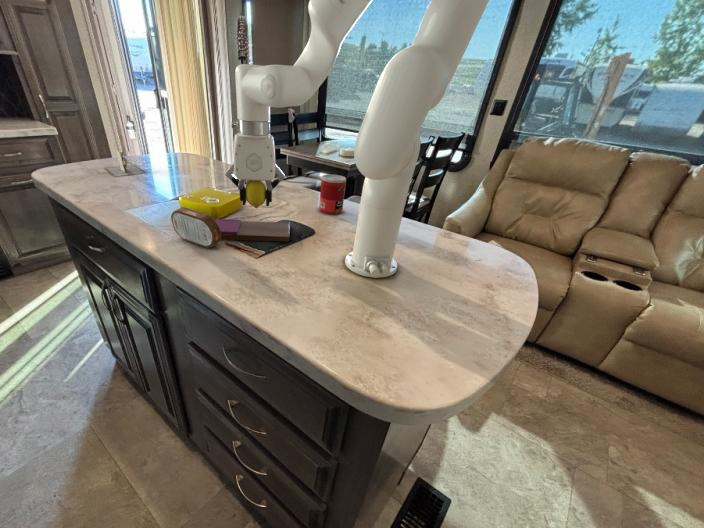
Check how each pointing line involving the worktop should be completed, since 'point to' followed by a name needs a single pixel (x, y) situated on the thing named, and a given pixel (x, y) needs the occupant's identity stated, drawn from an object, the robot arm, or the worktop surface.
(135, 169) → the architectural model
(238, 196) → the element tile
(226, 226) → the plum cloth
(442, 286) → the worktop surface
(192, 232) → the tin
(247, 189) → the lemon
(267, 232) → the serving board
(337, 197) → the canned food
